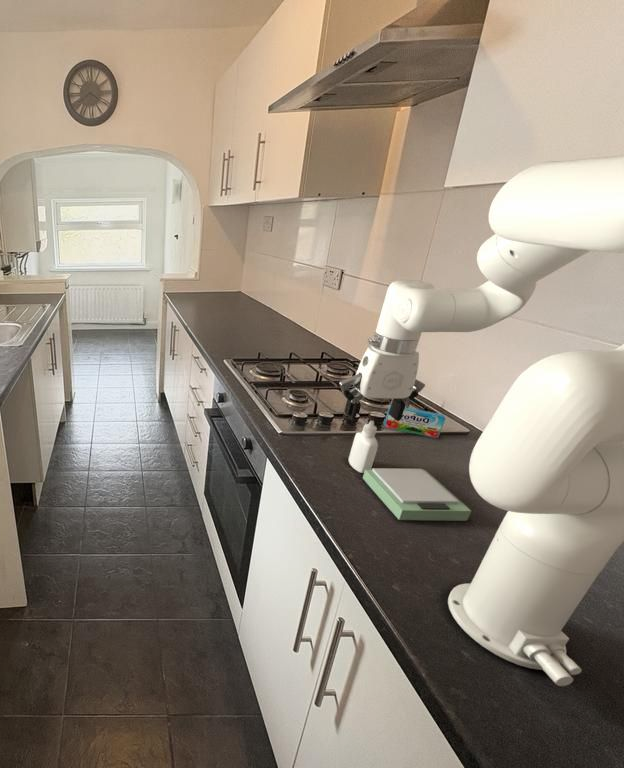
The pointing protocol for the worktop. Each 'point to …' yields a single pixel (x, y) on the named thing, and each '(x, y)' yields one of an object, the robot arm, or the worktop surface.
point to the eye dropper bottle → (364, 448)
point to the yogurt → (417, 422)
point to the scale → (415, 495)
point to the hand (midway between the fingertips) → (371, 417)
